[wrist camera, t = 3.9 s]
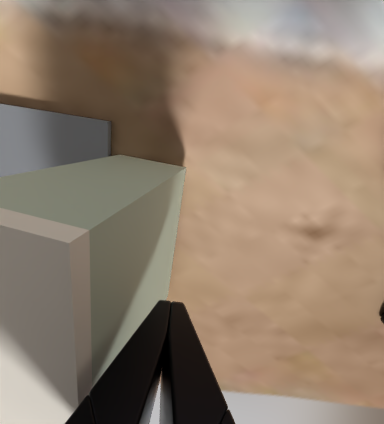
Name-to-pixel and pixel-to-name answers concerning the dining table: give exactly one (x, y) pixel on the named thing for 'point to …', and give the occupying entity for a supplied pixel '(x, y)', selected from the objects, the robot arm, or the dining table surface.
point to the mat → (48, 139)
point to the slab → (78, 275)
